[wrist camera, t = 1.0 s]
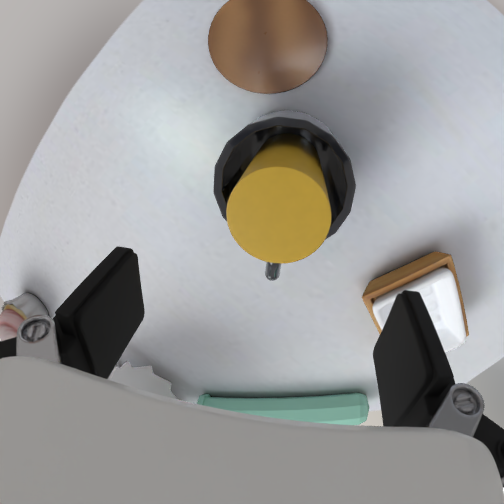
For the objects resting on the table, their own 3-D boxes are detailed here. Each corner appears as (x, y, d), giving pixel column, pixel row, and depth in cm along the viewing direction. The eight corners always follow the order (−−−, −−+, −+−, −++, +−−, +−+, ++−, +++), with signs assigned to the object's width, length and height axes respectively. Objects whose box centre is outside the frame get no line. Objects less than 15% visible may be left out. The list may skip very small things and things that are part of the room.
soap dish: (356, 276, 32) (363, 306, 28) (438, 236, 29) (457, 261, 24) (391, 347, 36) (398, 377, 32) (459, 316, 33) (473, 344, 28)
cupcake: (52, 337, 47) (23, 375, 39) (15, 304, 45) (-16, 339, 37) (61, 310, 43) (26, 353, 34) (20, 274, 41) (-18, 311, 32)
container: (373, 423, 36) (193, 426, 40) (367, 428, 40) (207, 431, 45) (370, 383, 39) (197, 389, 44) (365, 392, 44) (210, 398, 49)
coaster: (295, -26, 19) (295, -28, 18) (346, 70, 23) (347, 69, 22) (191, 19, 22) (189, 18, 22) (239, 111, 26) (238, 112, 25)
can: (305, 123, 25) (308, 150, 15) (329, 182, 27) (345, 245, 17) (245, 148, 27) (208, 190, 17) (271, 203, 29) (252, 275, 19)
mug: (239, 104, 26) (217, 111, 19) (349, 119, 25) (366, 130, 18) (229, 238, 32) (210, 280, 26) (324, 252, 31) (328, 298, 25)
